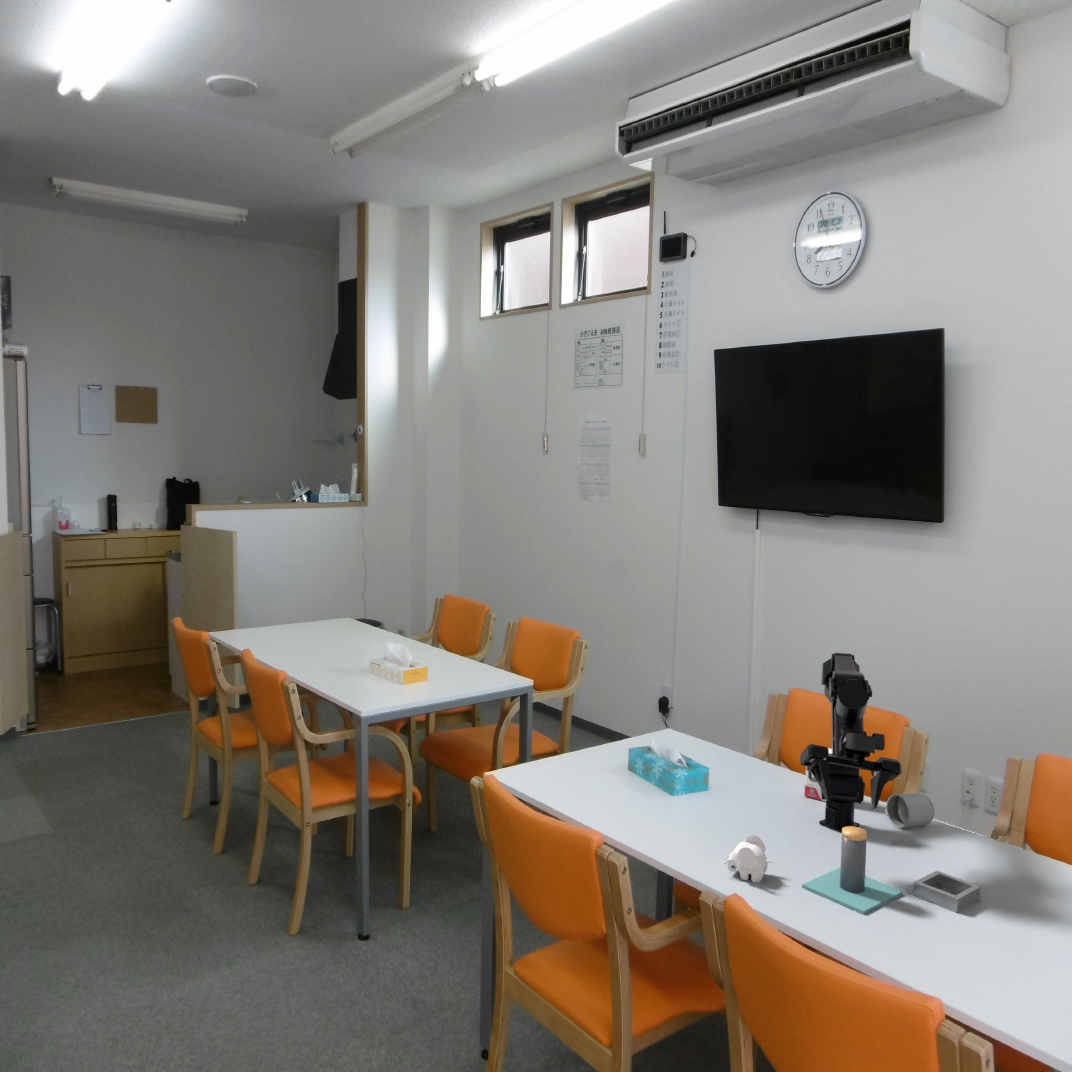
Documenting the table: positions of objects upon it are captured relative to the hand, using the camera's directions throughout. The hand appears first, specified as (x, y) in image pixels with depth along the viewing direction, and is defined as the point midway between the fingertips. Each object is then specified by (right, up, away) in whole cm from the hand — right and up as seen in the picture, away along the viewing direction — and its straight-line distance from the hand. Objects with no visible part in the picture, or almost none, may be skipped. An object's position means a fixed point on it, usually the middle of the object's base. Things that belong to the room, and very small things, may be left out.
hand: (851, 804), depth 178 cm
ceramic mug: (+21, -12, +27) cm, 36 cm away
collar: (+15, -15, -9) cm, 22 cm away
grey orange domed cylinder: (-2, -14, -7) cm, 15 cm away
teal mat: (-2, -14, -7) cm, 16 cm away
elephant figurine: (-21, -14, -1) cm, 25 cm away
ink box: (+8, -11, +41) cm, 44 cm away
